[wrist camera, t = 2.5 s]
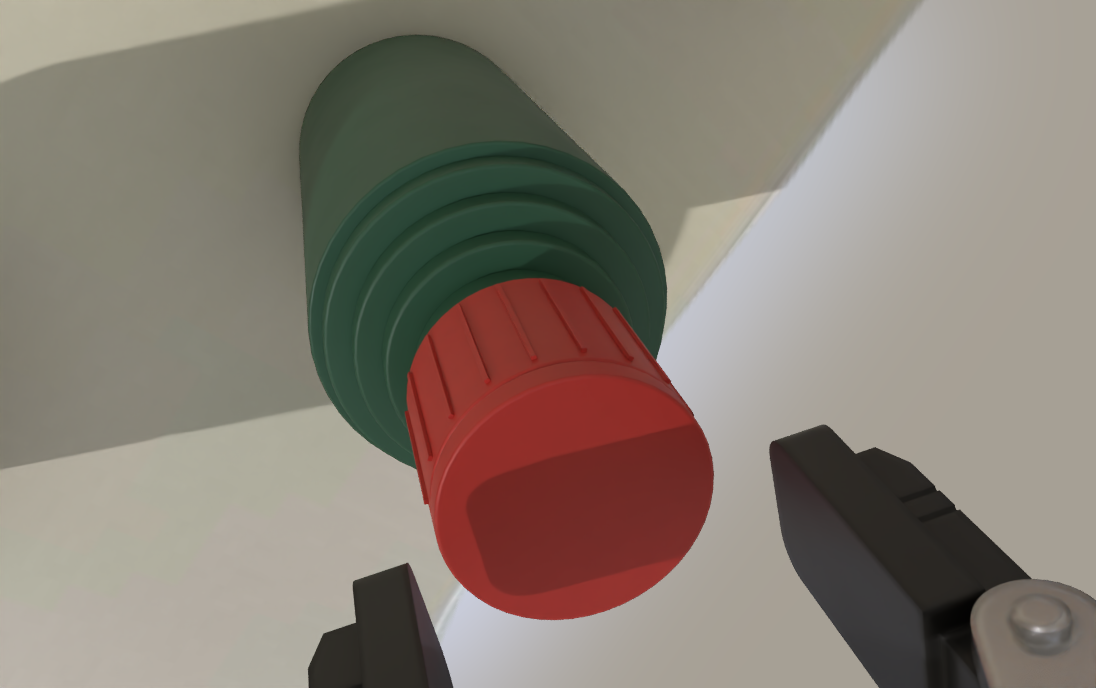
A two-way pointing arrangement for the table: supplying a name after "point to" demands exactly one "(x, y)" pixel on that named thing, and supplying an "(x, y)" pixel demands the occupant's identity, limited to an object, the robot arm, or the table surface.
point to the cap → (553, 451)
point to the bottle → (446, 217)
